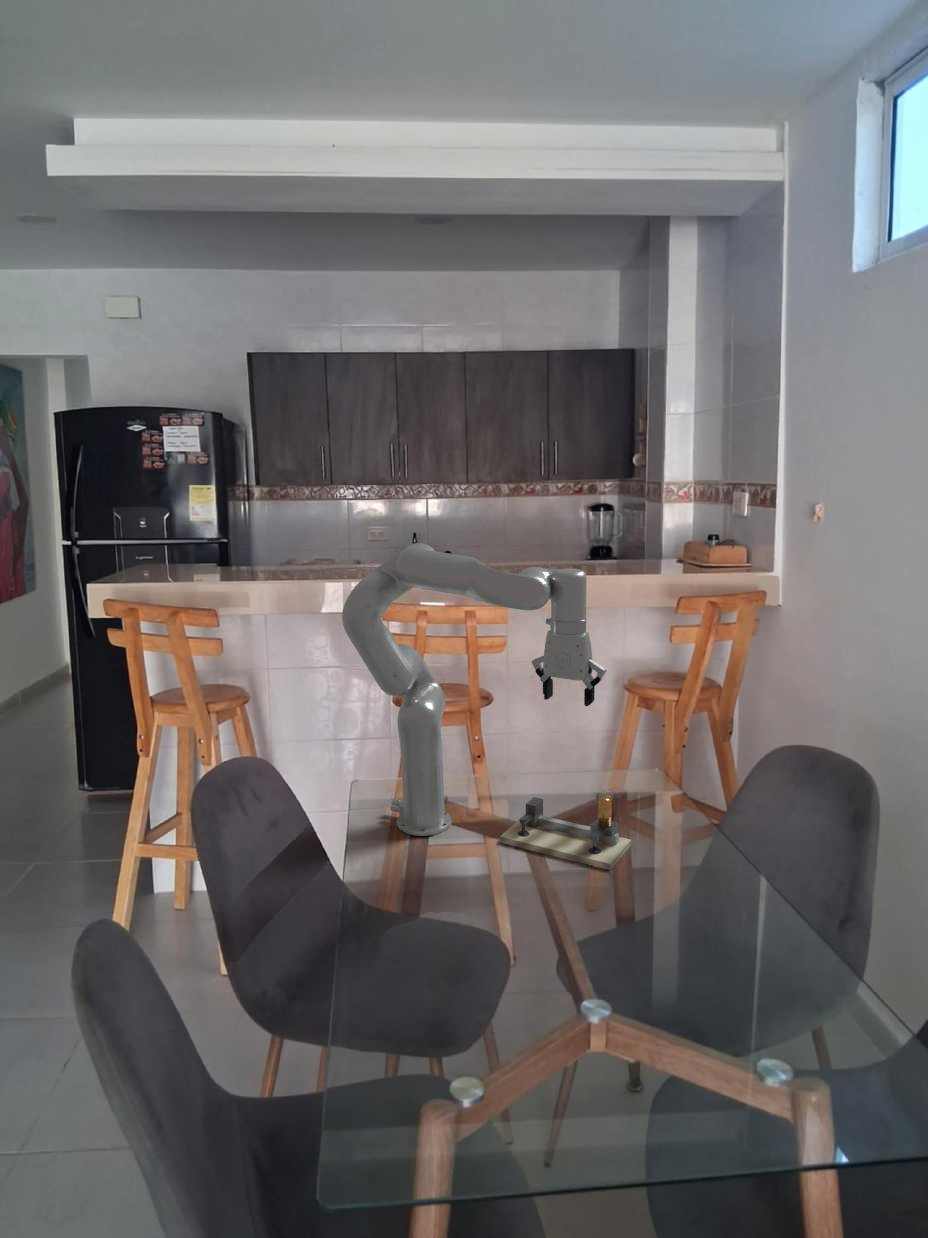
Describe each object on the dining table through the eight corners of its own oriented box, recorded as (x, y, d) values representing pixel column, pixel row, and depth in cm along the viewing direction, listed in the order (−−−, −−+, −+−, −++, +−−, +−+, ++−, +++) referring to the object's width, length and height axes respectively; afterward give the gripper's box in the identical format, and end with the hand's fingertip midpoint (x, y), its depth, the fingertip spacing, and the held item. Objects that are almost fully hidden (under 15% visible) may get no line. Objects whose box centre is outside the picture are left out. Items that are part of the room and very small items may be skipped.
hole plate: (500, 842, 210) (499, 813, 208) (524, 820, 220) (524, 793, 218) (610, 870, 197) (610, 839, 196) (631, 846, 207) (631, 816, 206)
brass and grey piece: (583, 846, 203) (583, 807, 201) (597, 831, 210) (597, 792, 207) (604, 852, 201) (605, 811, 198) (618, 836, 207) (619, 797, 205)
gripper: (525, 625, 206) (525, 700, 211) (599, 634, 198) (598, 712, 202) (540, 618, 213) (540, 690, 217) (612, 626, 204) (611, 701, 208)
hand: (568, 701), depth 209 cm, fingers open, 9 cm apart
